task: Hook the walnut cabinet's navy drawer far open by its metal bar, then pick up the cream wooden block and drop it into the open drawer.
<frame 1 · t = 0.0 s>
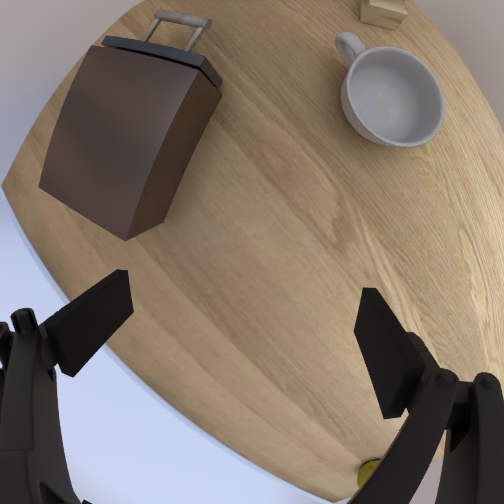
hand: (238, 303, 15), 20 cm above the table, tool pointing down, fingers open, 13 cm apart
apple: (371, 463, 47), on the table
block: (375, 12, 23), on the table
drawer: (141, 95, 25), point 5 cm above the table, slide at 0.5 cm
cabinet: (143, 138, 31), on the table
teacup: (369, 97, 27), on the table
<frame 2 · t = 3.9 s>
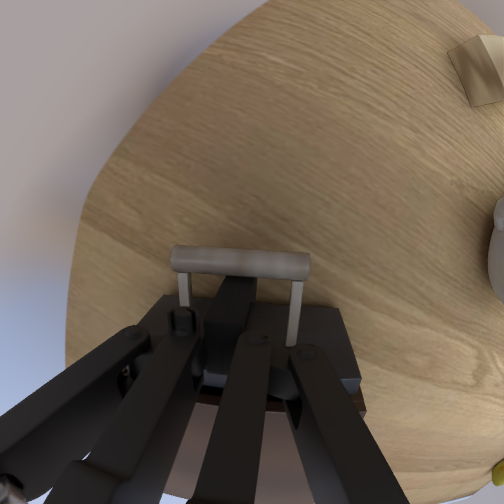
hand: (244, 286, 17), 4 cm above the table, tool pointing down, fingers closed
apple: (499, 462, 30), on the table
block: (477, 77, 13), on the table
drawer: (240, 392, 18), point 5 cm above the table, slide at 0.5 cm, touching gripper
cabinet: (246, 392, 24), on the table
teacup: (502, 233, 17), on the table
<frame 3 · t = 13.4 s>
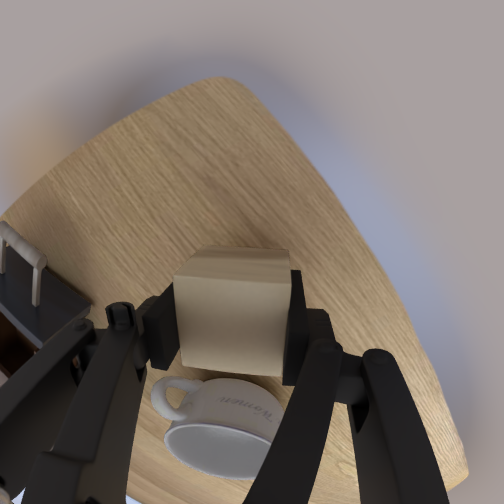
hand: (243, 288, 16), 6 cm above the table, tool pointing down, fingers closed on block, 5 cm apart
block: (244, 286, 17), point 5 cm above the table, touching gripper
drawer: (24, 323, 21), point 5 cm above the table, slide at 9.6 cm
teacup: (227, 389, 26), on the table
when the fingers open (7 cm above the table, at t = 19.1 s): block drops 4 cm, point 2 cm above the table.
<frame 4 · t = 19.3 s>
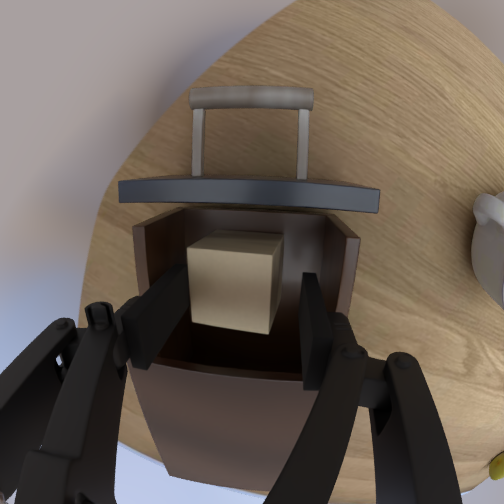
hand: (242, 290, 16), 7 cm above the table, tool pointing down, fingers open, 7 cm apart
apple: (496, 457, 32), on the table
block: (249, 264, 21), point 2 cm above the table, tilted 8°, touching gripper
drawer: (247, 263, 18), point 5 cm above the table, slide at 9.6 cm
cabinet: (250, 376, 27), on the table
teacup: (485, 228, 20), on the table
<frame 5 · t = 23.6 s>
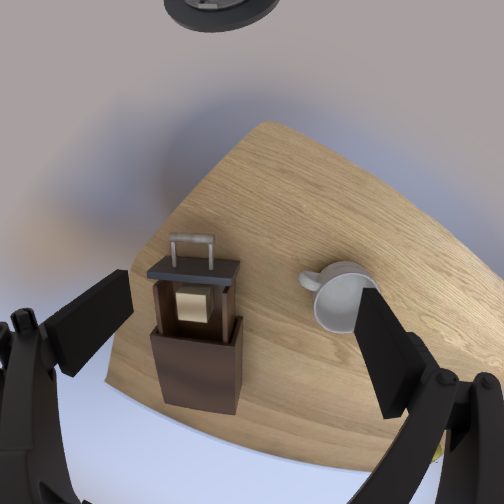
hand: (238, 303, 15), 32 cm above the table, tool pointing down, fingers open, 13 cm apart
apple: (426, 442, 60), on the table
block: (199, 294, 48), point 2 cm above the table, touching drawer
drawer: (196, 297, 45), point 5 cm above the table, slide at 10.0 cm, touching block
cabinet: (206, 349, 54), on the table
teacup: (332, 279, 47), on the table
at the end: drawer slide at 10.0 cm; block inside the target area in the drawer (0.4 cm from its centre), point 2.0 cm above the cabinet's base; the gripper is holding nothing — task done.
